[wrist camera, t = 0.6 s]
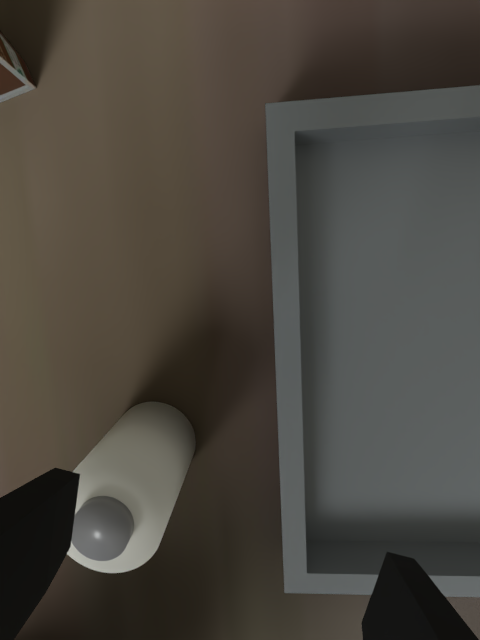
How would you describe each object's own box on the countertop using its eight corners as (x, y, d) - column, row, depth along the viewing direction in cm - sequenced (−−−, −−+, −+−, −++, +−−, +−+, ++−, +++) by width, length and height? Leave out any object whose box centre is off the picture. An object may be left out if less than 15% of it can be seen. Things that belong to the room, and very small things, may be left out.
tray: (282, 550, 20) (284, 592, 18) (266, 124, 17) (265, 103, 14) (582, 554, 19) (628, 600, 17) (631, 95, 16) (698, 66, 13)
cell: (119, 478, 20) (48, 586, 14) (111, 402, 20) (31, 478, 13) (198, 477, 20) (163, 588, 14) (192, 400, 19) (152, 478, 13)
